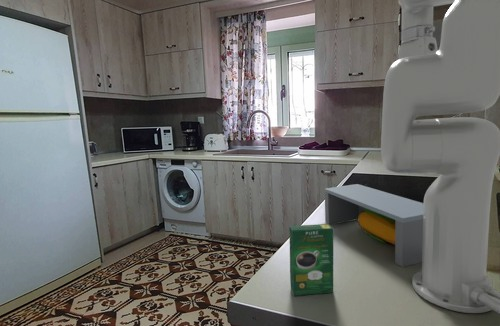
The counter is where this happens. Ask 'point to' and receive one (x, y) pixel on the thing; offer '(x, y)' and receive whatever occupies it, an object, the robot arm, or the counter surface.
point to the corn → (377, 225)
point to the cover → (380, 202)
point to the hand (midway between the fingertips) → (415, 104)
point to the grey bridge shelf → (405, 233)
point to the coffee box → (311, 259)
